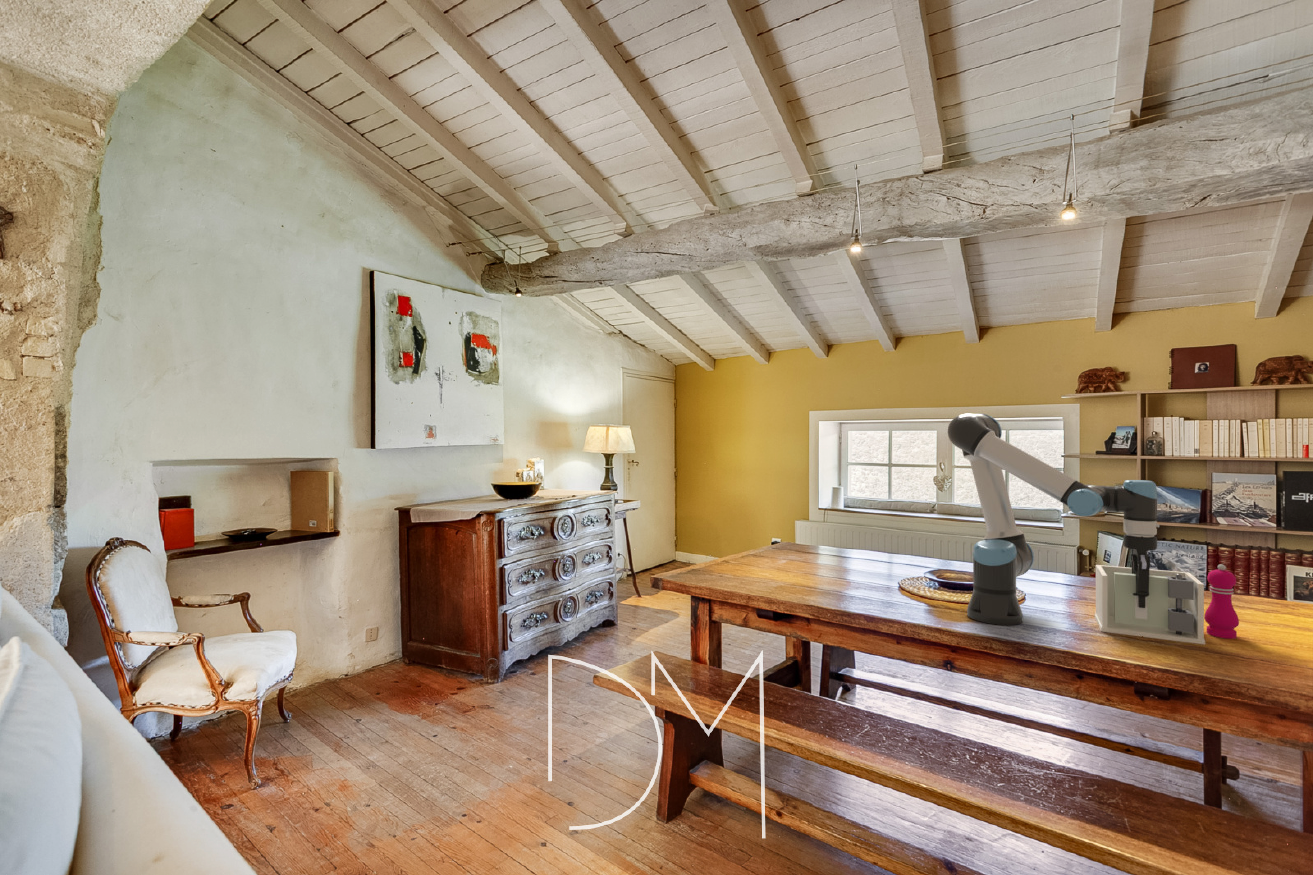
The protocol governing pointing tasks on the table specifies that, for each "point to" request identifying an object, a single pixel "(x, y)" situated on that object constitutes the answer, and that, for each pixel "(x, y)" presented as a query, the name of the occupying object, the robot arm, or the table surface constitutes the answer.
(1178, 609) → the hinge pin
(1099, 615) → the carcass
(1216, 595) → the pepper mill
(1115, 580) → the door
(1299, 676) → the table surface
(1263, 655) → the table surface
